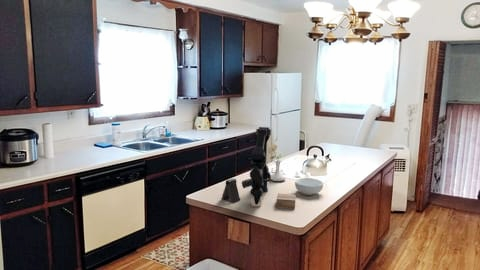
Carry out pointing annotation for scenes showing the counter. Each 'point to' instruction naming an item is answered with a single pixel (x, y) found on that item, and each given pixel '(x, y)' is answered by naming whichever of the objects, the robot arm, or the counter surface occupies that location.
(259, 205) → the maple cube
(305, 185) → the cereal bowl
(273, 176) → the flower in vase
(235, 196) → the dark grey tapered block
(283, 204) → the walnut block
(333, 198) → the counter surface
